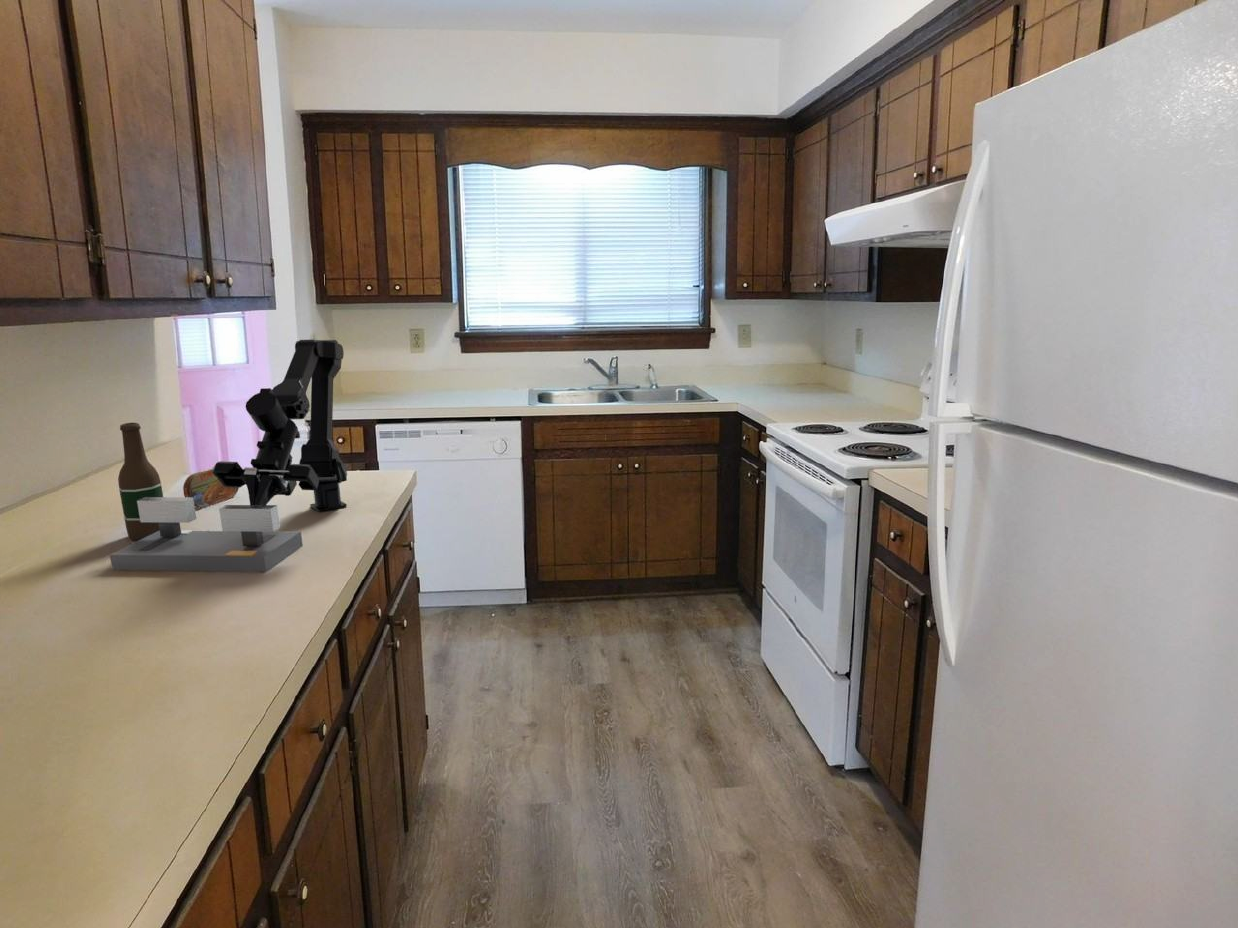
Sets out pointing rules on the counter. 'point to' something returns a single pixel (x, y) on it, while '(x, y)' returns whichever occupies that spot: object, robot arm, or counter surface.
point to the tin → (207, 489)
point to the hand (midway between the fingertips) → (254, 514)
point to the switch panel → (206, 552)
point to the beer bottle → (136, 482)
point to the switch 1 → (167, 513)
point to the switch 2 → (250, 521)
